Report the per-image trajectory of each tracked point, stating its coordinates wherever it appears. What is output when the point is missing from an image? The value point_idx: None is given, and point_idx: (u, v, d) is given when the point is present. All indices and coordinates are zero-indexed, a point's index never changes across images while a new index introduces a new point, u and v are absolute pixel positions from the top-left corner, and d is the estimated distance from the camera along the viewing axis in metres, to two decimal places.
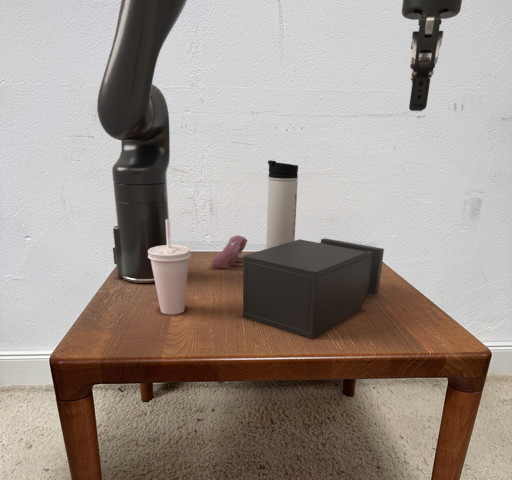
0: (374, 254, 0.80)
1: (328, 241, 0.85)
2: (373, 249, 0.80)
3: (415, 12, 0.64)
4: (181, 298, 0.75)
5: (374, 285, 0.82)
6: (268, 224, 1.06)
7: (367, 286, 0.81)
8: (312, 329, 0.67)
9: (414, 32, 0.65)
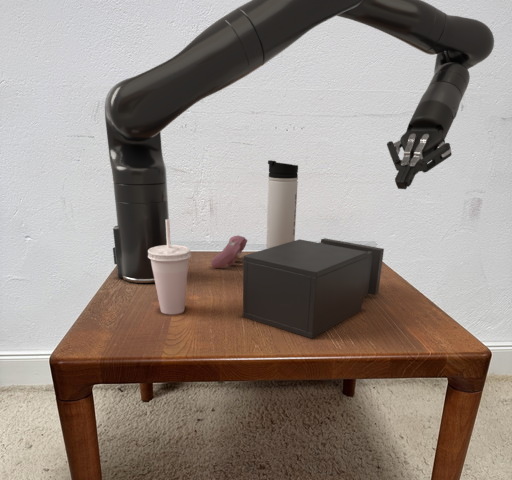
0: (374, 254, 0.80)
1: (328, 241, 0.85)
2: (373, 249, 0.80)
3: (435, 125, 0.91)
4: (181, 298, 0.75)
5: (374, 285, 0.82)
6: (268, 224, 1.06)
7: (367, 286, 0.81)
8: (312, 329, 0.67)
9: (428, 136, 0.91)
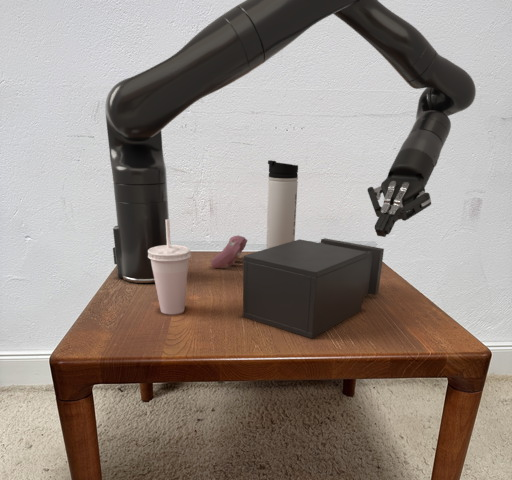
0: (374, 254, 0.80)
1: (328, 241, 0.85)
2: (373, 249, 0.80)
3: (416, 174, 0.91)
4: (181, 298, 0.75)
5: (374, 285, 0.82)
6: (268, 224, 1.06)
7: (367, 286, 0.81)
8: (312, 329, 0.67)
9: (408, 185, 0.91)
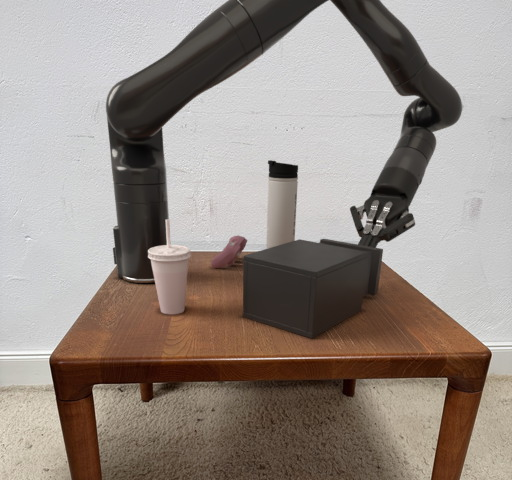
0: (373, 254, 0.80)
1: (327, 241, 0.85)
2: (372, 249, 0.80)
3: (399, 193, 0.88)
4: (181, 298, 0.75)
5: (373, 285, 0.82)
6: (268, 224, 1.06)
7: (366, 286, 0.81)
8: (312, 329, 0.67)
9: (392, 205, 0.88)
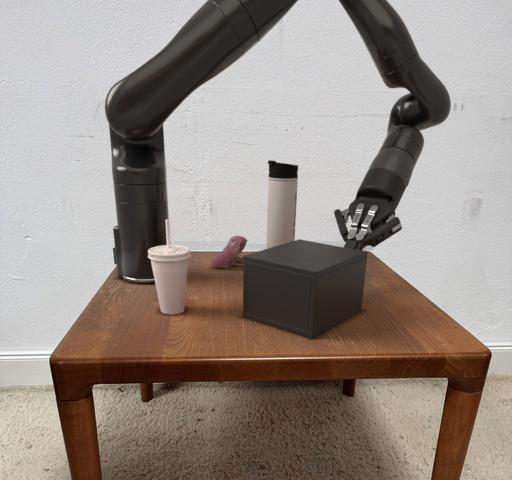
0: None
1: None
2: None
3: (385, 196, 0.83)
4: (181, 298, 0.75)
5: None
6: (268, 224, 1.06)
7: None
8: (312, 329, 0.67)
9: (377, 208, 0.83)
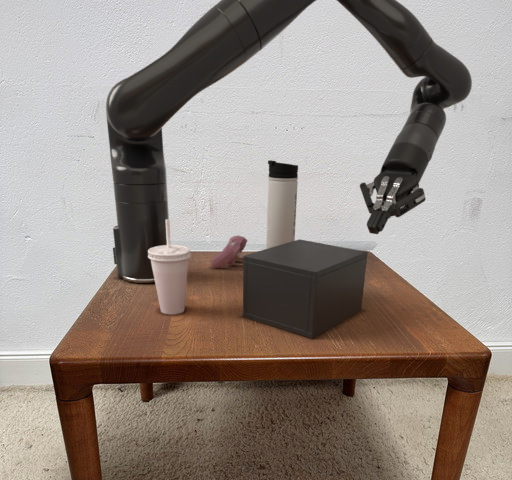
0: None
1: None
2: None
3: (409, 168, 0.88)
4: (181, 298, 0.75)
5: None
6: (268, 224, 1.06)
7: None
8: (312, 329, 0.67)
9: (402, 180, 0.88)
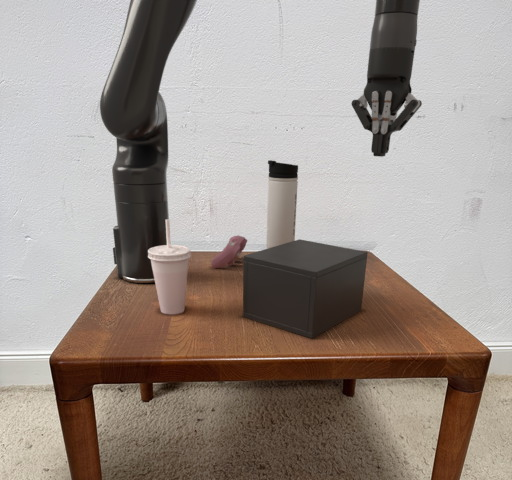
0: None
1: None
2: None
3: (396, 77, 0.83)
4: (181, 298, 0.75)
5: None
6: (268, 224, 1.06)
7: None
8: (312, 329, 0.67)
9: (392, 94, 0.84)
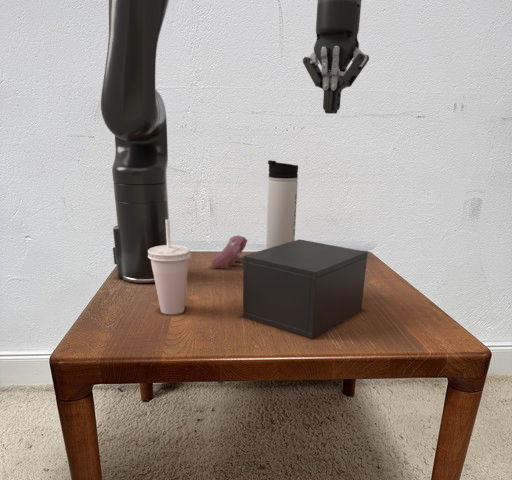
0: None
1: None
2: None
3: (342, 31, 0.84)
4: (181, 298, 0.75)
5: None
6: (268, 224, 1.06)
7: None
8: (312, 329, 0.67)
9: (339, 49, 0.85)
